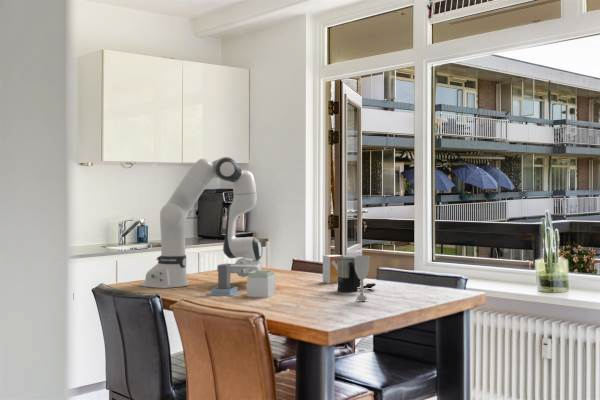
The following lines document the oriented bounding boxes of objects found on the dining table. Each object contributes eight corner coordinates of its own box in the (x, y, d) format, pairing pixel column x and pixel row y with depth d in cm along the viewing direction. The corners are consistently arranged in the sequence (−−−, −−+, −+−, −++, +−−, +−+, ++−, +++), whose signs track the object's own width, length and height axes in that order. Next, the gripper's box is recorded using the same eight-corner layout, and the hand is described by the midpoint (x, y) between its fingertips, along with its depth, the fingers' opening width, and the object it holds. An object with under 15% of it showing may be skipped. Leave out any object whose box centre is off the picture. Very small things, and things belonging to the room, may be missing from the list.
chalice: (365, 303, 250) (365, 257, 249) (350, 301, 253) (350, 256, 253) (373, 300, 256) (373, 256, 255) (358, 298, 259) (358, 255, 259)
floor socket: (206, 294, 270) (206, 289, 270) (217, 290, 281) (217, 285, 281) (232, 296, 266) (232, 290, 266) (242, 291, 278) (242, 286, 278)
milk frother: (332, 290, 280) (332, 257, 280) (355, 286, 291) (355, 254, 291) (357, 294, 270) (357, 260, 270) (379, 290, 281) (379, 257, 281)
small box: (330, 283, 300) (330, 256, 300) (322, 282, 306) (322, 255, 305) (343, 282, 305) (343, 255, 304) (335, 280, 310) (335, 254, 310)
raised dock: (246, 296, 266) (246, 272, 265) (254, 292, 275) (254, 269, 275) (268, 297, 263) (268, 273, 263) (275, 293, 272) (275, 270, 272)
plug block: (218, 292, 272) (218, 265, 272) (221, 291, 276) (221, 264, 276) (226, 293, 271) (226, 265, 271) (230, 291, 275) (230, 264, 275)
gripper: (223, 259, 298) (211, 263, 285) (264, 261, 293) (253, 264, 279) (223, 273, 299) (211, 277, 285) (264, 274, 293) (253, 278, 280)
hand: (232, 271), depth 282 cm, fingers open, 8 cm apart
